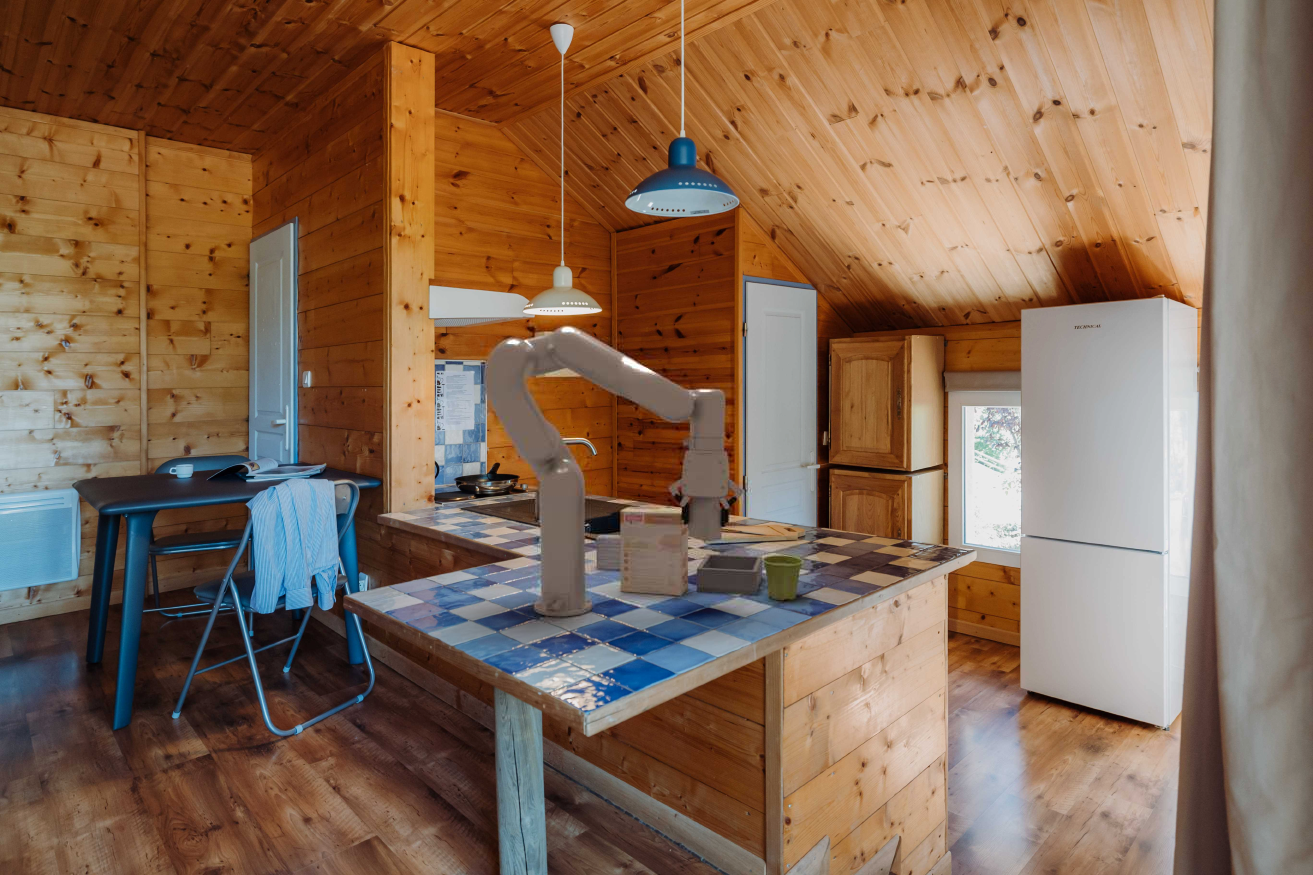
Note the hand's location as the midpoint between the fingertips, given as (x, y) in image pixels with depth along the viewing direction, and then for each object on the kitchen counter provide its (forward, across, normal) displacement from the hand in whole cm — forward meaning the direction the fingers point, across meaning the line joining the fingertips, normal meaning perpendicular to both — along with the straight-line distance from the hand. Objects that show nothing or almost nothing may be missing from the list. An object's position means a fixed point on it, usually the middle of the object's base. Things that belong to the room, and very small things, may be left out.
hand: (705, 524), depth 164 cm
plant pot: (+18, +17, +10) cm, 26 cm away
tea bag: (+3, 0, 0) cm, 3 cm away
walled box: (+18, +4, +18) cm, 26 cm away
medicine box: (+19, -29, +28) cm, 45 cm away
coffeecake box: (+18, -13, +9) cm, 24 cm away
